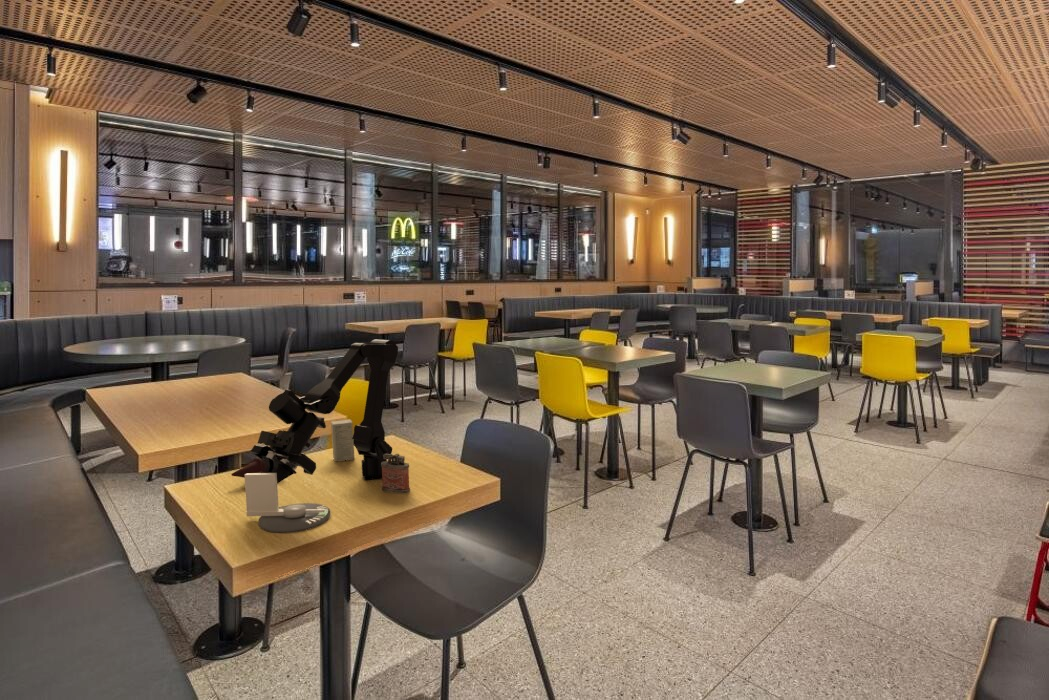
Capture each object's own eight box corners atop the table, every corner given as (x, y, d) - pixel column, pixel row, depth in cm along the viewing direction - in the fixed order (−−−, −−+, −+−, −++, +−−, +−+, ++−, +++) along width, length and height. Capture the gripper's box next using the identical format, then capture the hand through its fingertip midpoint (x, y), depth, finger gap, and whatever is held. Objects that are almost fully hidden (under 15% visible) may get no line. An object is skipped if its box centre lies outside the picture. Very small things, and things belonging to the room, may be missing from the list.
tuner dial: (329, 502, 157) (329, 498, 157) (331, 527, 142) (331, 522, 142) (261, 511, 152) (261, 506, 152) (255, 537, 137) (255, 532, 137)
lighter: (412, 490, 166) (411, 453, 164) (406, 494, 163) (404, 457, 161) (386, 486, 168) (385, 451, 167) (379, 491, 165) (378, 454, 164)
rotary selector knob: (327, 509, 149) (325, 469, 148) (321, 517, 144) (319, 476, 143) (252, 510, 149) (249, 470, 148) (243, 519, 144) (240, 477, 143)
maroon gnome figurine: (239, 468, 165) (291, 460, 176) (227, 457, 169) (278, 449, 181) (236, 492, 166) (287, 482, 178) (223, 479, 171) (275, 470, 182)
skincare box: (352, 456, 197) (351, 418, 195) (354, 459, 193) (353, 422, 191) (332, 458, 194) (330, 420, 193) (334, 462, 190) (332, 424, 189)
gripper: (254, 412, 154) (215, 467, 146) (302, 421, 144) (264, 481, 136) (283, 435, 162) (248, 489, 154) (331, 445, 152) (296, 503, 144)
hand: (263, 490), depth 147 cm, fingers closed
